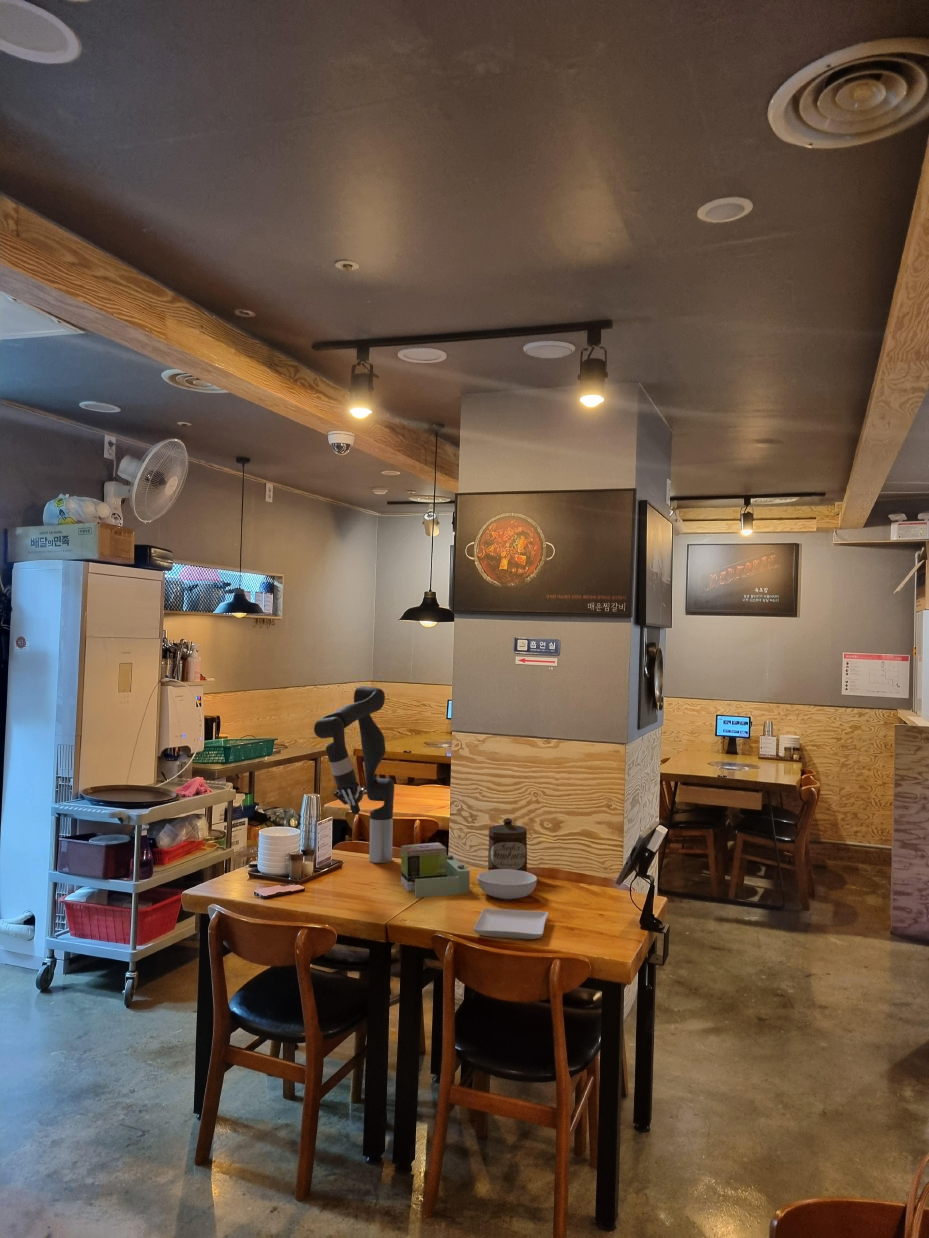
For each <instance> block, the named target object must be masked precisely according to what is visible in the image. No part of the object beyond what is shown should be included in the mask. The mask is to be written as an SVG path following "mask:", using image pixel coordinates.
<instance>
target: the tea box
mask: <svg viewBox="0 0 929 1238" xmlns="http://www.w3.org/2000/svg"><path fill="white" fill-rule="evenodd" d="M447 850H448V848H447V847H446V846H445V845H443V844H442V843H440V842H429V843H416V844H415V843H414V844H403V845H401V846H400V882H401V883H400V884H401V886H402V887H403V888H404V889H405V890H406V892H415V879H423V878H437V877H447V856H448V851H447Z"/></svg>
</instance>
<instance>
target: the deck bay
mask: <svg viewBox="0 0 929 1238" xmlns="http://www.w3.org/2000/svg"><path fill="white" fill-rule="evenodd" d="M470 871H471V870H470V869H468V868H467V867H466V866H465V865H464V864H462V863H461V862H460V861H459V860H458V859H456V858H455V857H454V855H453V854H451V855H450V854H447V877H437V878H423V879H415V891H414V897H415V898H428V897H429V898H430V897H439V896H441V897H443V896H452V895H453V896H454V895H465V894H470V878H471V876H470V873H471V872H470Z"/></svg>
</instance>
